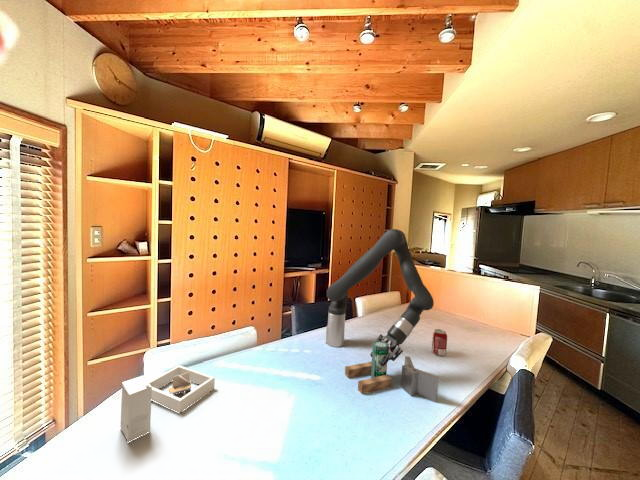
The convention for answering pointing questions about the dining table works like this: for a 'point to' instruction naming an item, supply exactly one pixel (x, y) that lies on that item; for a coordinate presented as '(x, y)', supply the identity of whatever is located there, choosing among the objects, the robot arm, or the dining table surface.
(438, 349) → the soda can
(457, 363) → the dining table surface
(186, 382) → the architectural model
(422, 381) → the v cradle
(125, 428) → the skincare box
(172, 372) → the holder tray
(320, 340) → the dining table surface
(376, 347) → the can
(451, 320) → the dining table surface
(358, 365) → the wooden bar pair
